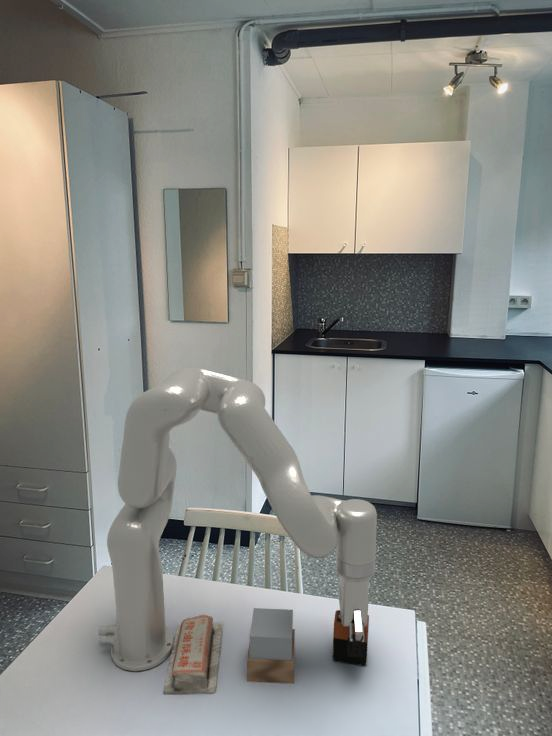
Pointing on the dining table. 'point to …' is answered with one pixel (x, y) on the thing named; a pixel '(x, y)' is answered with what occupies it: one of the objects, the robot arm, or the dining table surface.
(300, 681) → the dining table surface
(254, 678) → the bottom block
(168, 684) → the packaged product
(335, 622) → the battery
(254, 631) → the top block
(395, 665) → the dining table surface
